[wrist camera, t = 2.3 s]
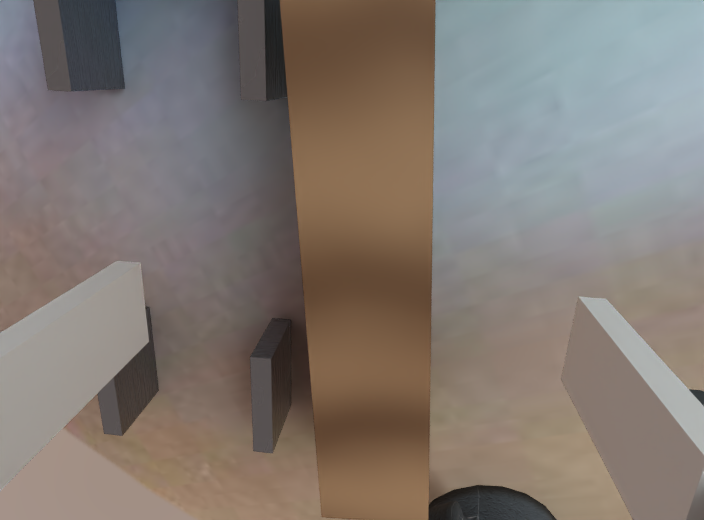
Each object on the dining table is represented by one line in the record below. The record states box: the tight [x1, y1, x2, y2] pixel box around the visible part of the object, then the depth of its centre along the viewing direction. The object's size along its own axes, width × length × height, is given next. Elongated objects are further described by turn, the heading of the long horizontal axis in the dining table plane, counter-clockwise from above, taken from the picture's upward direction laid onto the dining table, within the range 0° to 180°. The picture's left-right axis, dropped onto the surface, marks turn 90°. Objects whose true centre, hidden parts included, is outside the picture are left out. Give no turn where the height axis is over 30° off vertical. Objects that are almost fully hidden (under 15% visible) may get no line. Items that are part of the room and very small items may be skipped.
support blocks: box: [98, 307, 291, 453], centre depth 27 cm, size 6×9×4 cm, turn 88°
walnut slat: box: [280, 0, 435, 520], centre depth 21 cm, size 22×4×8 cm, turn 2°
